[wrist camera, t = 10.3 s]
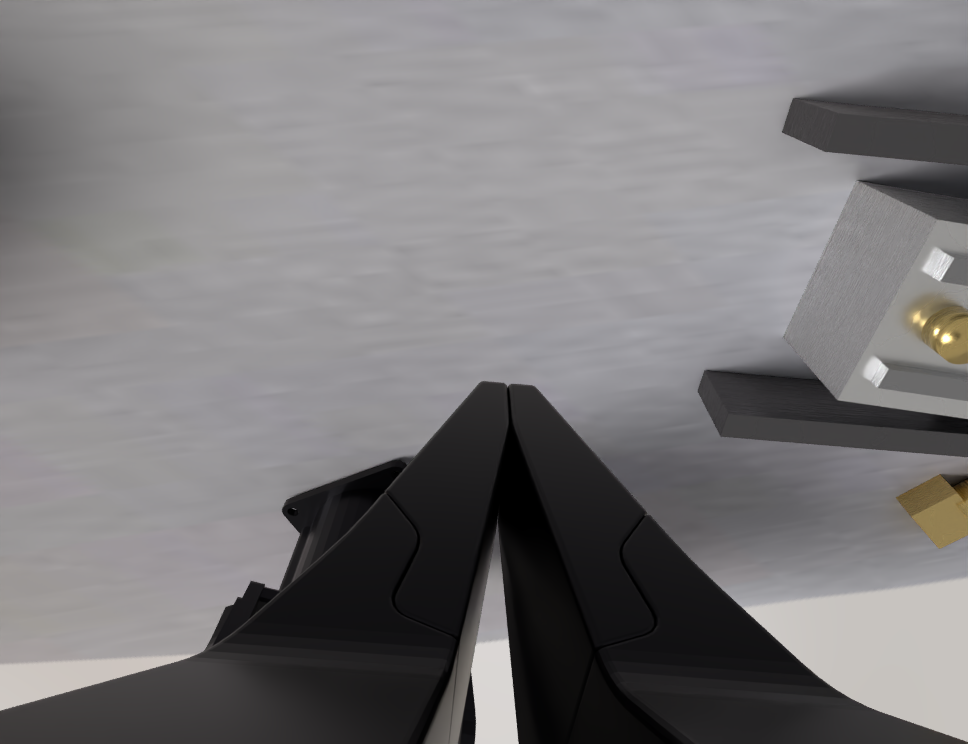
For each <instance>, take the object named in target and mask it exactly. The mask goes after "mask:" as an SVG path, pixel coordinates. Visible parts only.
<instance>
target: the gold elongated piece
mask: <svg viewBox="0 0 968 744" xmlns="http://www.w3.org/2000/svg"><path fill="white" fill-rule="evenodd" d="M896 498H897V500H898V501H899V502H900V503H901V505H902V506H903V507H904V508H905V510H906V511H907V512H908V513H909V515H910V516H911V517H912V518H913V519H914V520H915V522H916V523H917V524H918V525H919V526H920V527H921V528H922V530H923V531H924V532H925V533H926V534H927V535H928V537H929V538H930V539H931V540H932V541H933V542H934V543H935V545H936V546H937V547H938V548H939V549H940V548H942V547H944V546H946V545H948V544H951V543H953V542H955V541H957V540H959V539H961V538H963V537H965V536H967V535H968V479H967V480H965V481H963V482H961V483H959V484H957V485H955V486H953V487H951V486H950V485H949V484H948V482H947V481H946V480H945V479H944V478H943V477H942V476H941V475H940V474H939V475H938V476H936V477H934V478H932V479H930V480H928V481H926V482H924V483H923V484H921V485H919V486H917V487H915V488H913V489H911V490H909V491H908V492H906V493H904V494H902V495H900V496H898V497H896Z"/></svg>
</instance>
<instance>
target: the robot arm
mask: <svg viewBox="0 0 968 744" xmlns="http://www.w3.org/2000/svg"><path fill="white" fill-rule="evenodd" d="M393 471H399V472H401V473H399V474H397V473H394V472H393ZM292 508H295V509H297V510H294V509H292ZM282 512H283V514H284V516H285V517H286V518H287V519H288V520H289V521H290V523H291V524H292V525H293V526H294V527H295V528H296V530H297V531H298V532H299V533H300V536H299V539H298V541H297V544H296V547H295V549H294V552H293V555H292V557H291V560H290V563H289V565H288V568H287V570H286V573H285V576H284V578H283V581H282V584H281V586H280V589H279V590H275V589H271V588H267V587H265V584H261V583H257V582H253V581H251V582H250V584H249V586H248V588H247V590H246V592H245V594H244V596H243V598H241V597H238V598H237V600H236V602H235V603H234V605H231V606H228V607H225V610H224V612H223V614H222V616H221V618H220V621H219V623H218V625H217V627H216V629H215V631H214V634H213V636H212V638H211V640H210V642H209V644H208V645H207V647H206V649H205V650H204V651H203V652H201V653H199V654H197V655H195V656H192V657H190V658H187V659H184V660H181V661H178V662H174V663H171V664H167V665H164V666H160V667H156V668H153V669H149V670H146V671H142V672H138V673H135V674H131V675H127V676H124V677H120V678H117V679H113V680H110V681H106V682H103V683H99V684H95V685H92V686H88V687H84V688H81V689H77V690H73V691H70V692H66V693H63V694H59V695H55V696H52V697H48V698H45V699H41V700H37V701H34V702H30V703H27V704H23V705H19V706H16V707H12V708H9V709H5V710H2V711H0V744H474V743H475V730H476V717H475V704H474V695H473V685H472V676H471V667H472V662H473V656H474V650H475V645H476V639H477V634H478V628H479V623H480V617H481V611H482V606H483V600H484V595H485V589H486V584H487V578H488V572H489V567H490V561H491V556H492V550H493V545H494V539H495V533H496V526H497V518H498V528H499V542H500V552H501V563H502V573H503V584H504V594H505V605H506V615H507V626H508V636H509V647H510V657H511V668H512V677H513V688H514V699H515V710H516V719H517V730H518V741H519V744H968V742H966V741H963V740H960V739H957V738H954V737H952V736H949V735H945V734H943V733H940V732H937V731H934V730H931V729H928V728H925V727H923V726H920V725H916V724H914V723H911V722H908V721H905V720H902V719H899V718H896V717H894V716H891V715H888V714H885V713H882V712H879V711H877V710H874V709H872V708H869V707H867V706H864V705H863V704H861V703H859V702H857V701H855V700H852V699H851V698H849V697H847V696H846V695H844V694H842V693H841V692H839V691H837V690H836V689H834V688H833V687H831V686H830V685H828V684H827V683H826V682H825V681H823V680H822V679H820V678H819V677H818V676H817V675H815V674H814V673H813V672H812V671H811V670H810V669H808V668H807V667H806V666H805V665H804V664H803V663H801V662H800V661H799V660H798V659H797V658H796V657H795V656H794V655H793V654H792V653H791V652H789V651H788V650H787V649H786V648H785V647H784V646H783V645H782V644H781V643H780V642H779V641H778V640H776V639H775V638H774V637H773V636H772V635H771V634H770V633H769V632H767V630H766V629H765V628H763V627H762V626H761V625H760V624H759V623H758V622H757V621H756V620H755V619H754V618H753V617H751V616H750V615H749V614H748V613H747V612H746V611H745V610H744V609H743V608H742V607H741V606H740V605H738V604H737V603H736V602H735V601H734V600H733V599H732V598H731V597H730V596H729V595H728V594H726V593H725V592H724V591H723V590H722V589H721V588H720V587H719V586H718V585H717V584H716V583H715V582H714V581H713V580H712V579H711V578H710V577H709V576H708V575H707V574H705V573H704V572H703V571H702V570H701V569H700V568H699V567H698V566H697V565H696V564H695V563H694V562H693V561H692V560H691V559H690V558H689V557H688V556H687V555H686V554H685V553H684V552H683V551H682V550H681V548H680V547H679V546H678V545H677V544H676V543H675V542H674V541H673V540H672V539H671V538H670V537H669V536H668V535H667V534H666V533H665V531H664V530H663V529H662V528H661V527H660V526H659V525H658V524H657V522H656V521H655V520H654V519H653V518H652V517H651V516H650V515H647V512H646V510H645V509H644V508H643V507H642V506H641V505H640V504H639V503H638V501H637V500H636V499H635V498H634V497H633V496H632V495H631V494H630V492H629V491H628V490H627V489H626V488H625V487H624V486H623V485H622V483H621V482H620V481H619V480H618V479H617V478H616V477H615V476H614V474H613V473H612V472H611V471H610V470H609V469H608V468H607V467H606V465H605V464H604V463H603V462H602V461H601V460H600V459H599V458H598V456H597V455H596V454H595V453H594V452H593V451H592V450H591V449H590V447H589V446H588V445H587V444H586V443H585V442H584V441H583V440H582V438H581V437H580V436H579V435H578V434H577V433H576V432H575V431H574V430H573V428H572V427H571V426H570V425H569V424H568V423H567V422H566V421H565V419H564V418H563V417H562V416H561V415H560V414H559V413H558V412H557V410H556V409H555V408H554V407H553V406H552V405H551V404H550V403H549V401H548V400H547V399H546V398H545V397H544V396H543V395H542V394H541V392H540V391H539V390H538V389H537V388H536V387H535V386H532V385H522V384H510V385H509V386H508V388H507V385H506V384H505V383H499V382H487V381H482V382H480V383H479V384H478V385H477V386H476V388H475V389H474V390H473V391H472V392H471V393H470V394H469V396H468V397H467V398H466V399H465V400H464V401H463V402H462V404H461V405H460V406H459V407H458V408H457V409H456V410H455V412H454V413H453V414H452V415H451V416H450V417H449V418H448V420H447V421H446V422H445V423H444V424H443V425H442V426H441V428H440V429H439V430H438V431H437V432H436V433H435V434H434V436H433V437H432V438H431V439H430V440H429V441H428V442H427V444H426V445H425V446H424V447H423V448H422V449H421V450H420V452H419V453H418V454H417V455H416V456H415V457H414V459H413V460H412V461H411V462H410V463H409V464H408V465H406V464H405V463H404V462H402V461H392V462H389V463H386V464H383V465H381V466H378V467H375V468H372V469H370V470H367V471H364V472H361V473H358V474H356V475H353V476H350V477H347V478H345V479H342V480H339V481H336V482H334V483H331V484H328V485H325V486H323V487H320V488H317V489H314V490H312V491H309V492H306V493H303V494H301V495H298V496H295V497H292V498H290V499H288V500H286V502H285V504H284V506H283V508H282Z"/></svg>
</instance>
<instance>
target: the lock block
mask: <svg viewBox="0 0 968 744" xmlns="http://www.w3.org/2000/svg"><path fill="white" fill-rule="evenodd" d="M783 338H784V339H785V340H786V341H787V342H788V344H789V345H790V346H791V347H792V348H793V349H794V350H795V352H796V353H797V354H798V355H799V356H800V357H801V359H802V360H803V361H804V362H805V363H806V364H807V366H808V367H809V368H810V369H811V370H812V371H813V372H814V374H815V375H816V376H817V377H818V378H819V379H820V381H821V382H822V383H823V384H824V385H825V386H826V387H827V389H828V390H829V391H830V392H831V393H832V394H833V396H834V397H835V398H836V399H837V400H840V401H847V402H854V403H861V404H867V405H874V406H881V407H888V408H895V409H902V410H909V411H916V412H923V413H930V414H937V415H944V416H951V417H958V418H964V419H968V199H963V198H957V197H951V196H945V195H939V194H933V193H928V192H922V191H916V190H910V189H904V188H898V187H892V186H886V185H880V184H874V183H868V182H863V181H856V183H855V185H854V187H853V189H852V191H851V193H850V195H849V198H848V200H847V202H846V204H845V206H844V208H843V210H842V212H841V215H840V217H839V219H838V221H837V223H836V225H835V227H834V229H833V232H832V234H831V236H830V238H829V240H828V242H827V244H826V246H825V249H824V251H823V253H822V255H821V257H820V259H819V261H818V263H817V266H816V268H815V270H814V272H813V274H812V276H811V278H810V280H809V283H808V285H807V287H806V289H805V291H804V293H803V295H802V297H801V300H800V302H799V304H798V306H797V308H796V310H795V312H794V314H793V317H792V319H791V321H790V323H789V325H788V327H787V329H786V331H785V334H784V336H783Z"/></svg>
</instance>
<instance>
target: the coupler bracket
mask: <svg viewBox="0 0 968 744" xmlns="http://www.w3.org/2000/svg"><path fill="white" fill-rule="evenodd" d="M782 132H783V133H785V134H787V135H789V136H791V137H794V138H796V139H798V140H800V141H802V142H805V143H807V144H809V145H811V146H814V147H816V148H818V149H820V150H822V151H825V152H834V153H844V154H854V155H865V156H875V157H886V158H896V159H907V160H917V161H928V162H938V163H949V164H959V165H968V115H958V114H947V113H937V112H927V111H917V110H906V109H896V108H886V107H876V106H865V105H855V104H845V103H835V102H824V101H814V100H804V99H794V98H793V100H792V103H791V106H790V109H789V112H788V115H787V118H786V121H785V125H784V128H783V131H782ZM698 393H699V395H700V397H701V399H702V401H703V403H704V405H705V407H706V409H707V411H708V413H709V415H710V416H711V418H712V420H713V422H714V424H715V426H716V428H717V430H718V432H719V434H720V436H721V437H733V438H745V439H757V440H769V441H781V442H793V443H805V444H817V445H829V446H841V447H853V448H865V449H877V450H888V451H900V452H912V453H924V454H936V455H948V456H960V457H968V419H964V418H958V417H951V416H944V415H937V414H930V413H923V412H916V411H909V410H902V409H895V408H888V407H881V406H874V405H867V404H861V403H854V402H847V401H840V400H837V399H836V398H835V397H834V396H833V394H832V393H831V392H830V391H829V390H828V389H827V387H826V386H825V385H824V384H823V383H822V382H821V381H820V380H808V379H797V378H785V377H773V376H762V375H750V374H739V373H727V372H716V371H704V374H703V377H702V380H701V383H700V386H699V389H698Z"/></svg>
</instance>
